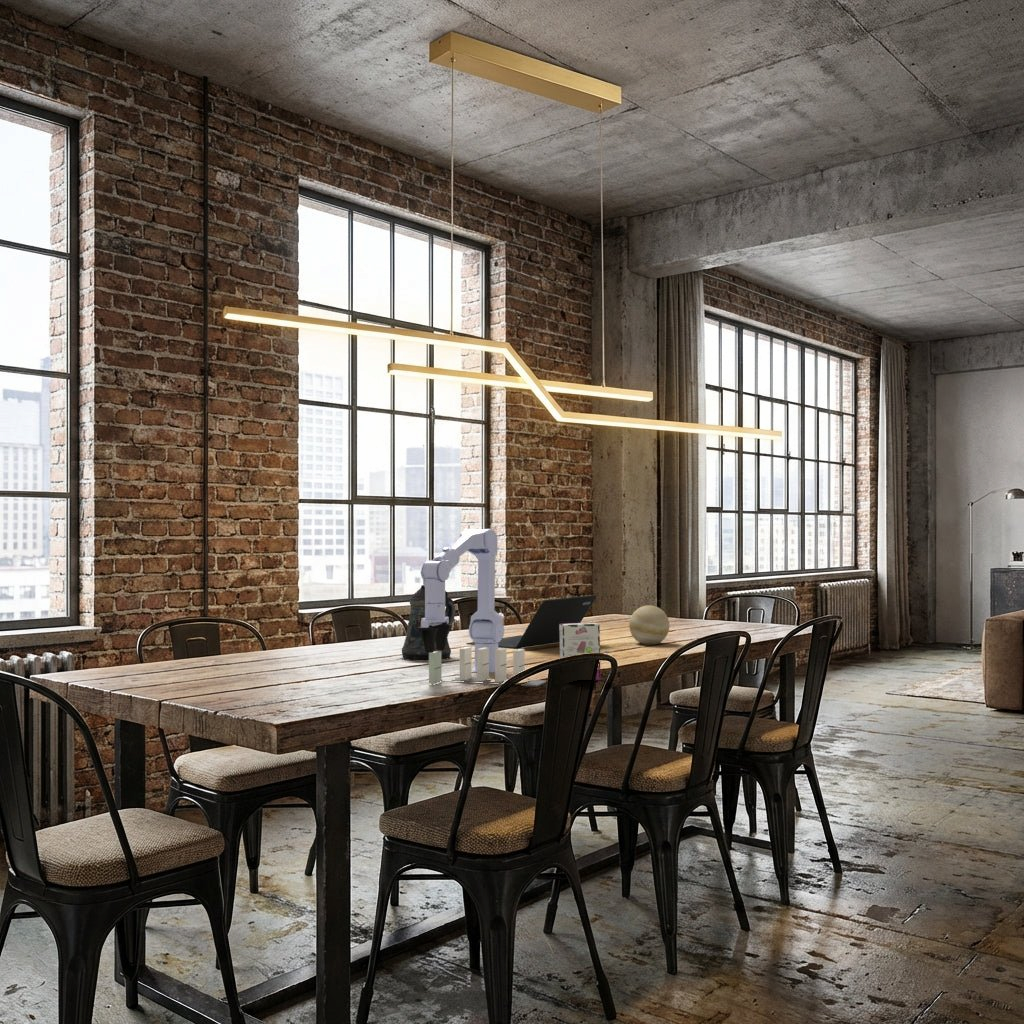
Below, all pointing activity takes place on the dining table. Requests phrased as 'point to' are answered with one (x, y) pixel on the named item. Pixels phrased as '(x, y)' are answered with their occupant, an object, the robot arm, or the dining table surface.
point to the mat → (531, 683)
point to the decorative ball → (649, 625)
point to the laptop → (549, 622)
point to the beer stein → (413, 640)
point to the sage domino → (435, 667)
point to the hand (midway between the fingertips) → (435, 651)
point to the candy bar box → (580, 640)
